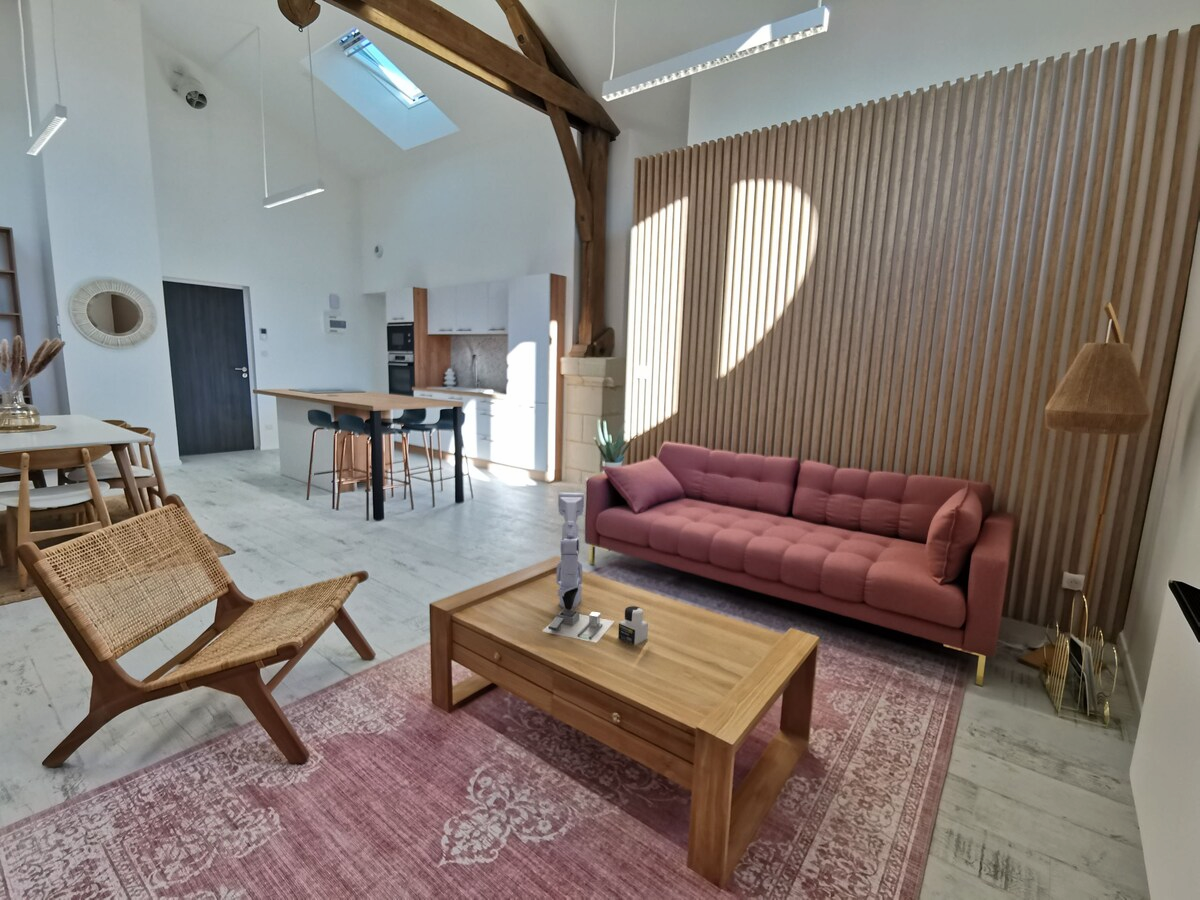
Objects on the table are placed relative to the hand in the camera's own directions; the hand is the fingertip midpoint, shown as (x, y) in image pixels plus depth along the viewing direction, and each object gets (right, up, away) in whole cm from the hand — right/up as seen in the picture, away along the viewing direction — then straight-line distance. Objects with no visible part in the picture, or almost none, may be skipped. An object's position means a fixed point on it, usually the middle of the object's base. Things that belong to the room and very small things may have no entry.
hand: (568, 608), depth 208 cm
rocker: (-4, -3, -7) cm, 8 cm away
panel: (+4, -7, -3) cm, 8 cm away
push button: (0, -4, +1) cm, 4 cm away
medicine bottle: (+22, -9, -11) cm, 26 cm away
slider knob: (+9, -6, -3) cm, 11 cm away
